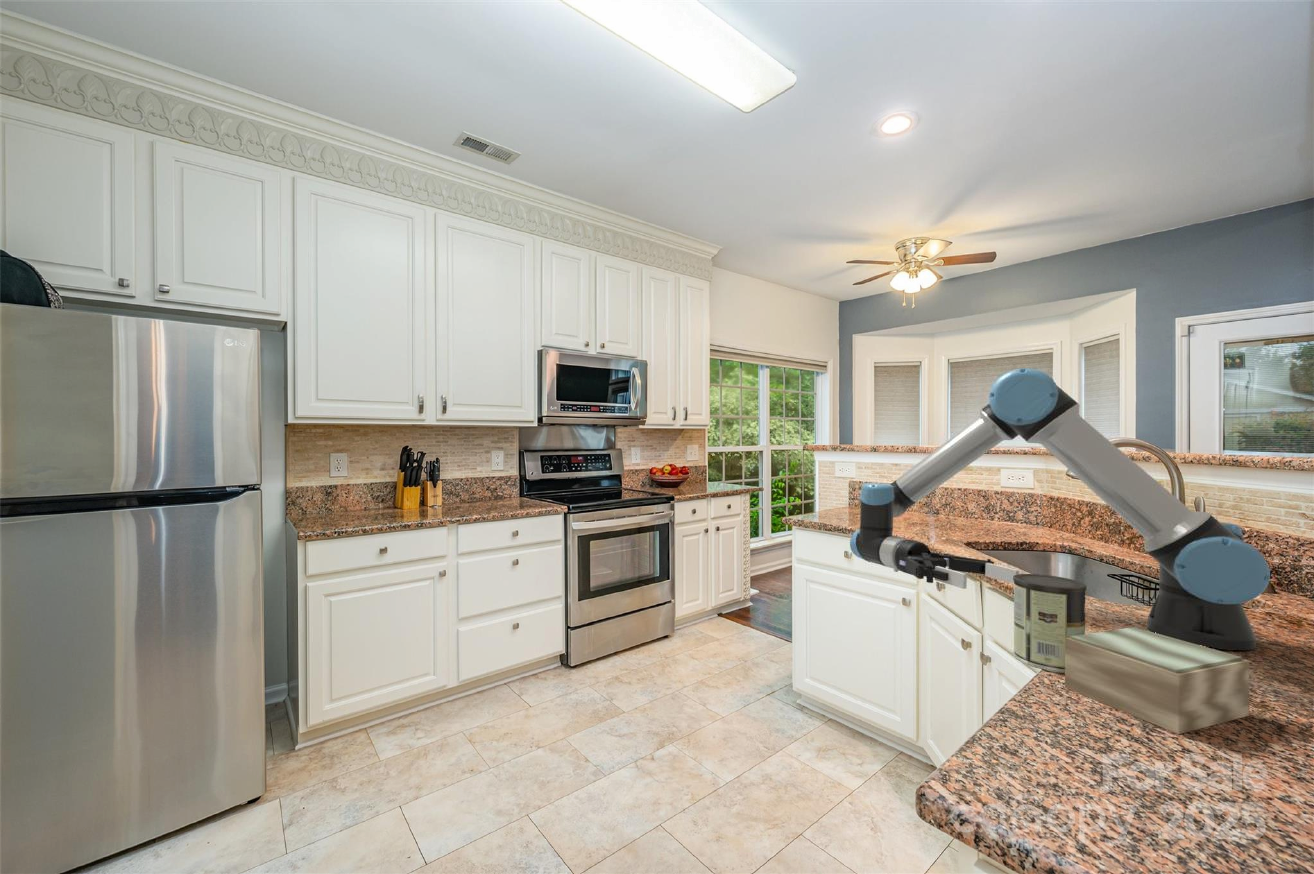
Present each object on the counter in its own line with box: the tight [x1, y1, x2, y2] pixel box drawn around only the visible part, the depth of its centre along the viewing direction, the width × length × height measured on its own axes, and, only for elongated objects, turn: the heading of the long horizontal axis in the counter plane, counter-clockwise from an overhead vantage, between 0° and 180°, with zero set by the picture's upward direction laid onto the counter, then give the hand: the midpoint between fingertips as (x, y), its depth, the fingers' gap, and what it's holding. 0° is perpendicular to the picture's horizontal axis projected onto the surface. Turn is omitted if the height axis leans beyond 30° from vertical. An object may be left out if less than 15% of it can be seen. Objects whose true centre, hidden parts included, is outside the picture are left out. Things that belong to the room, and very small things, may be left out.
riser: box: [1064, 626, 1250, 735], centre depth 79 cm, size 16×14×8 cm
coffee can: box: [1013, 573, 1087, 674], centre depth 93 cm, size 10×10×14 cm
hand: (991, 579), depth 102 cm, fingers open, 13 cm apart
